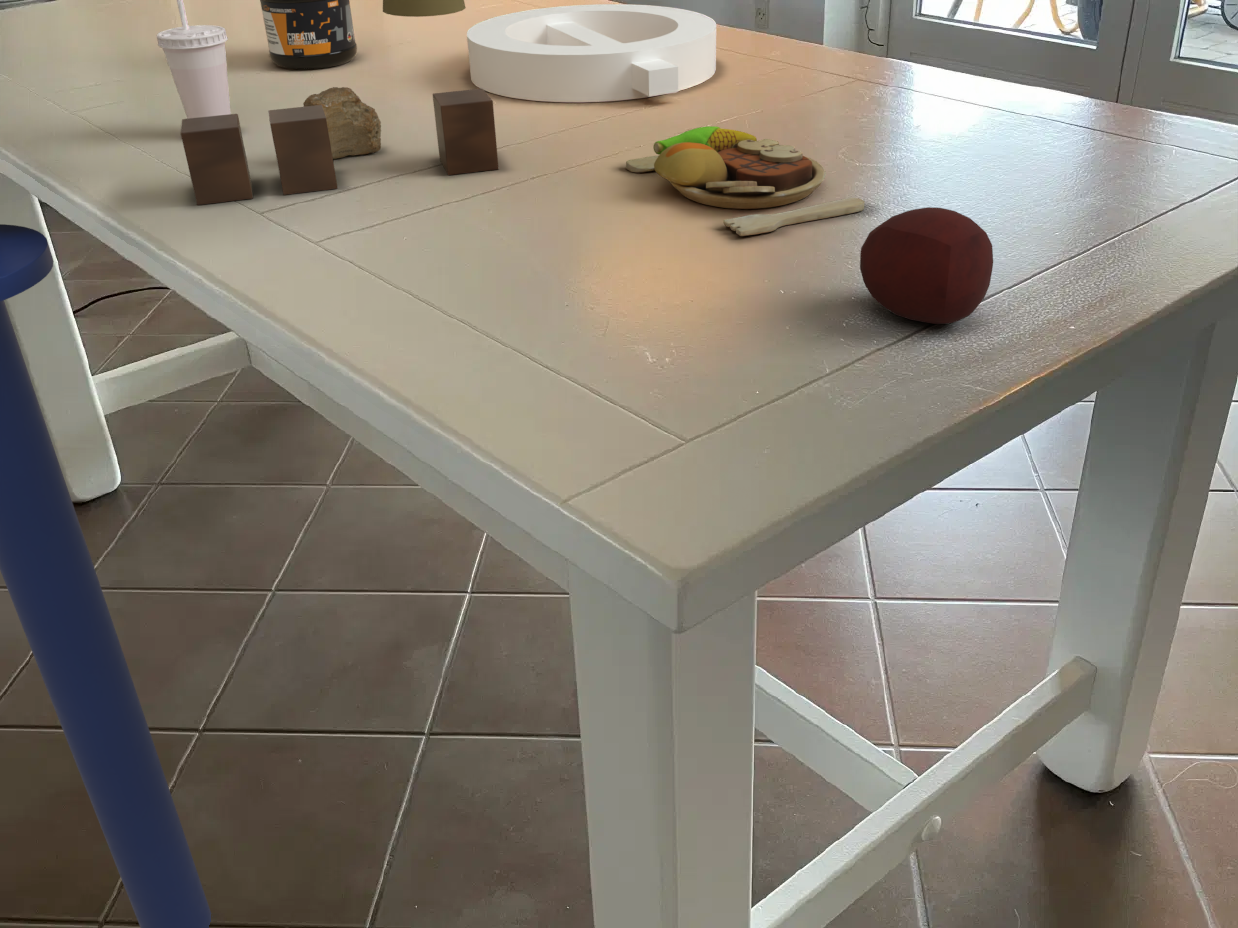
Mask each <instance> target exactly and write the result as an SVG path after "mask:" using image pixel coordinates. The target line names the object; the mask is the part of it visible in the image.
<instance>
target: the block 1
mask: <svg viewBox="0 0 1238 928" xmlns="http://www.w3.org/2000/svg"><path fill="white" fill-rule="evenodd" d="M242 133H243V132H242V130H241V123H240V119H239V114H238V113H231V114H228V115H219V116H209V117H199V118H189V119H187V118H182V119H181V126H180V137H181V141H182V145H183V150H184V154H185V159H186V162H187V167H188V172H189V176H190V181H191V185H192V189H193V194H194V197H195V198H194V199H195V202H196V205H197V206H202V205H210V204H218V203H219V204H220V203H226V202H235V201H243V200H252V199H253V198H254V195H253V183H252V182H253V181H252V178H251V173H250V167H249V163H248V158H247V153H246V148H245V143H244V139H243V134H242Z"/></svg>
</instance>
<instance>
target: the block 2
mask: <svg viewBox="0 0 1238 928" xmlns="http://www.w3.org/2000/svg"><path fill="white" fill-rule="evenodd" d="M267 112H268V113H267V114H268V118H269V119H268V120H269V124H270V130H271V131H270V132H271V136H272V141H273V146H274V153H275V156H276V157H275V158H276V162H277V168H278V173H279V177H280V184H281V189H282V194H283V195H284V196H286V195H294V194H305V193H311V192H319V191H320V192H321V191H328V190H337V189H338V182H337V176H336V169H335V164H334V159H333V157H332V151H331V145H330V138H329V132H328V126H327V120H326V116H325V113H324V110H323V107H322V105H316V106H306V107H303V106H296V107H288V108H287V107H286V108H278V109H269V110H268V111H267Z"/></svg>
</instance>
